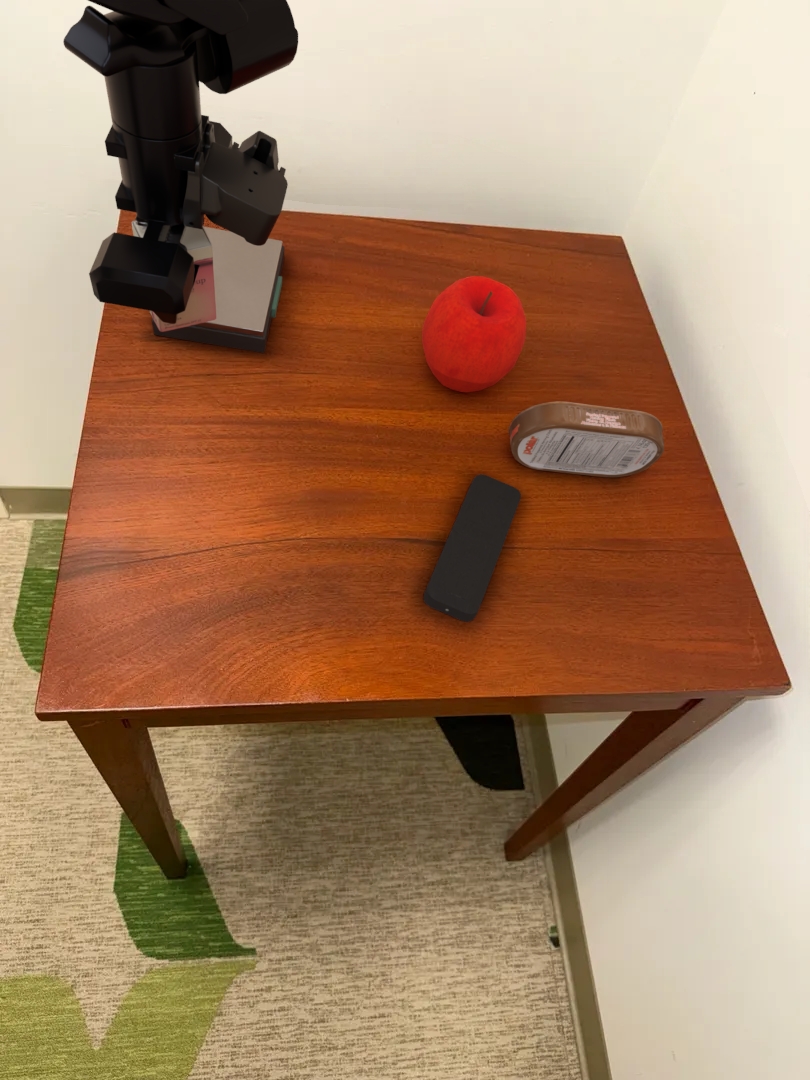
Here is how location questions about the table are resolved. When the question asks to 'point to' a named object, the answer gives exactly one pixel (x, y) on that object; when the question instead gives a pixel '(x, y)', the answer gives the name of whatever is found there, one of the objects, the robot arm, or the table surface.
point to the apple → (473, 333)
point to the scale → (239, 293)
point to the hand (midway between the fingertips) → (178, 295)
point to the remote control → (472, 548)
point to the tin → (586, 439)
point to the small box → (203, 290)
